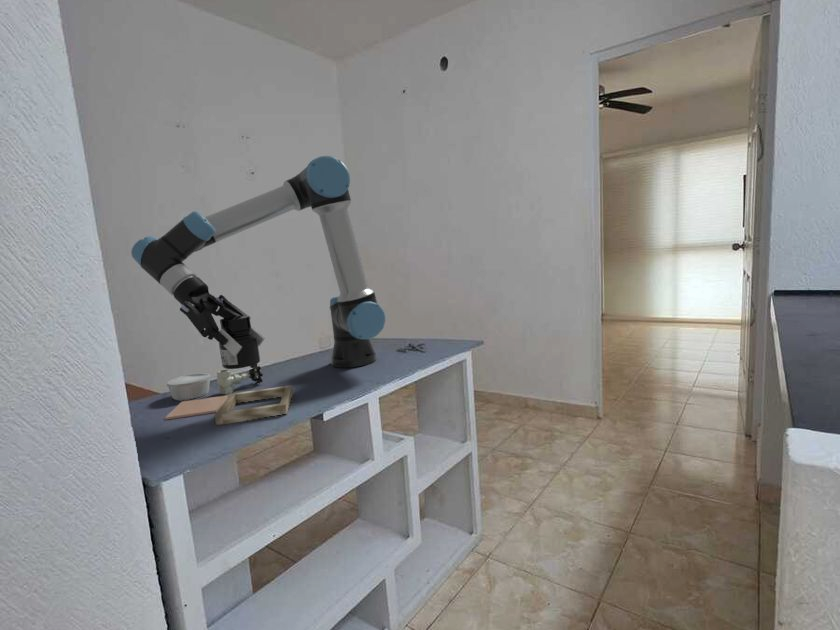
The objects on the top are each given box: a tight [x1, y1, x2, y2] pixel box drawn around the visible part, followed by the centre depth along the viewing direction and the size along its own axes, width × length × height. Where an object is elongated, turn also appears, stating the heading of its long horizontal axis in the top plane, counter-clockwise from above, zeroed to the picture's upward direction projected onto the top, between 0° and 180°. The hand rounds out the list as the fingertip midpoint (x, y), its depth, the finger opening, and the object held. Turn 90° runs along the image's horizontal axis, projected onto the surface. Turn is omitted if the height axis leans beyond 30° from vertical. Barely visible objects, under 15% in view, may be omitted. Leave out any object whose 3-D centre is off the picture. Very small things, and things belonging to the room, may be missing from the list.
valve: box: [216, 363, 263, 396], centre depth 129 cm, size 7×7×12 cm
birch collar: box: [214, 384, 294, 426], centre depth 110 cm, size 16×16×2 cm
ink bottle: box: [218, 315, 261, 370], centre depth 108 cm, size 10×9×12 cm
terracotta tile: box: [164, 394, 229, 421], centre depth 115 cm, size 12×12×1 cm
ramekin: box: [166, 372, 211, 402], centre depth 126 cm, size 11×11×5 cm
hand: (250, 346), depth 107 cm, fingers closed on ink bottle, 9 cm apart
